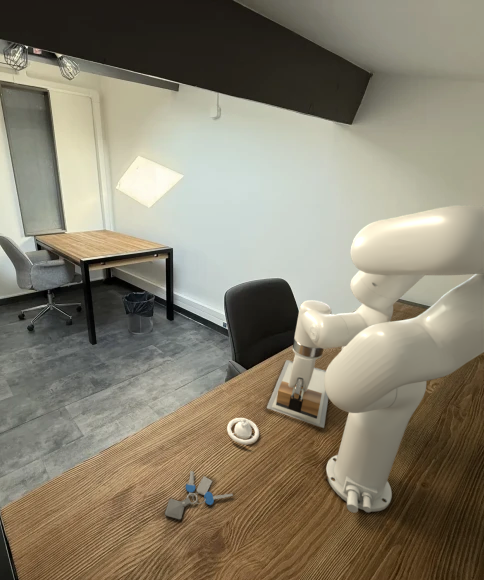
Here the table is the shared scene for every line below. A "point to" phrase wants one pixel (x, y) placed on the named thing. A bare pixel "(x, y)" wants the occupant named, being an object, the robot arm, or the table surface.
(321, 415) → the whiteboard
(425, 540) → the table surface
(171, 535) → the table surface
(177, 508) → the key chain
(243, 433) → the ring around a ball
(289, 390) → the eraser
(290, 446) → the table surface
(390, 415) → the robot arm
